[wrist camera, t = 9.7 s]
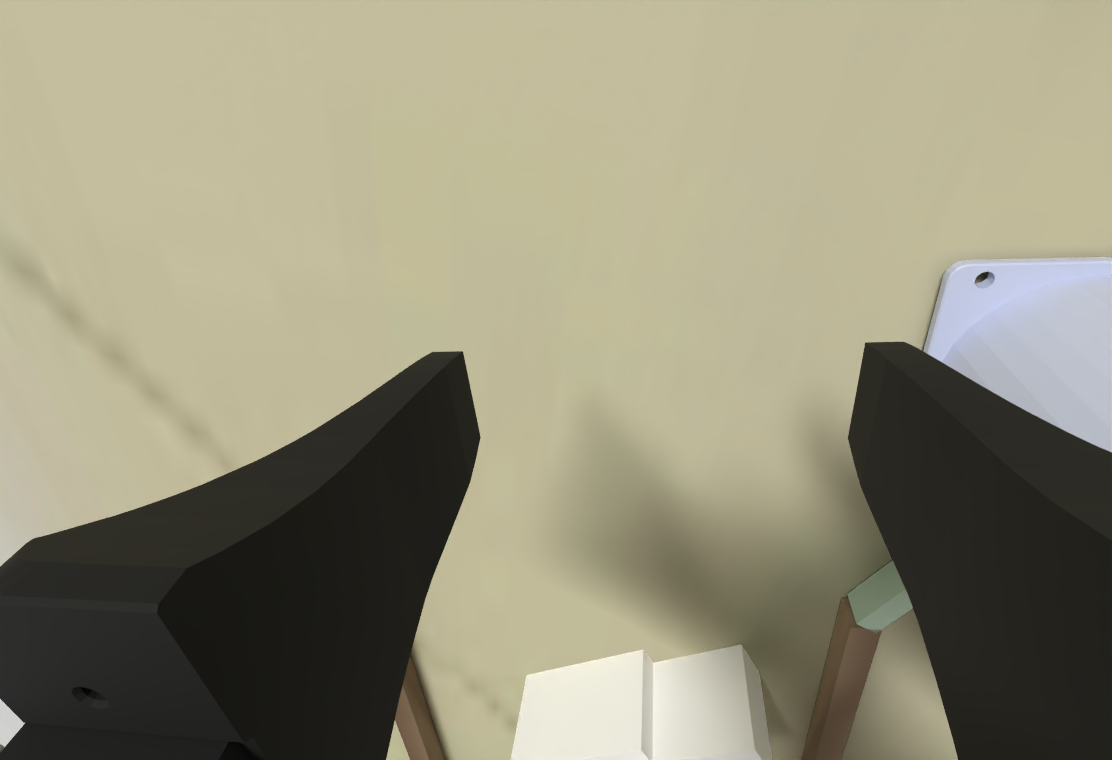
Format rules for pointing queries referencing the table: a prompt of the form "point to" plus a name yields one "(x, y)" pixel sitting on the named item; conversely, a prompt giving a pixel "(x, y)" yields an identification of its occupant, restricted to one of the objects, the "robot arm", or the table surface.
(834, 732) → the napkin dock
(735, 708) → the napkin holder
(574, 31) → the table surface
